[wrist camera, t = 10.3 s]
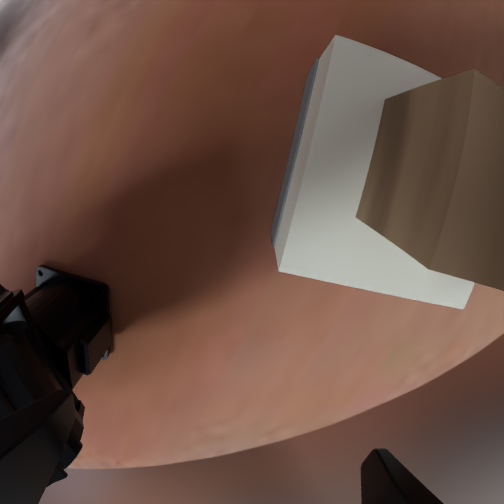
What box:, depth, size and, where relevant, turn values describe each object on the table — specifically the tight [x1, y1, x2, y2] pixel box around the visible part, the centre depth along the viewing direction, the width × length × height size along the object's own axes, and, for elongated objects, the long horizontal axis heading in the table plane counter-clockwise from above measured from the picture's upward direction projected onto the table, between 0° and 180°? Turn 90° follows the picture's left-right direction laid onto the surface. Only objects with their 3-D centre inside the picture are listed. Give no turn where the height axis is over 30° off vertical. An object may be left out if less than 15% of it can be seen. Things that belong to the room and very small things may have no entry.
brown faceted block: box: [356, 69, 504, 291], centre depth 9 cm, size 5×5×6 cm
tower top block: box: [274, 35, 475, 309], centre depth 13 cm, size 10×10×4 cm
